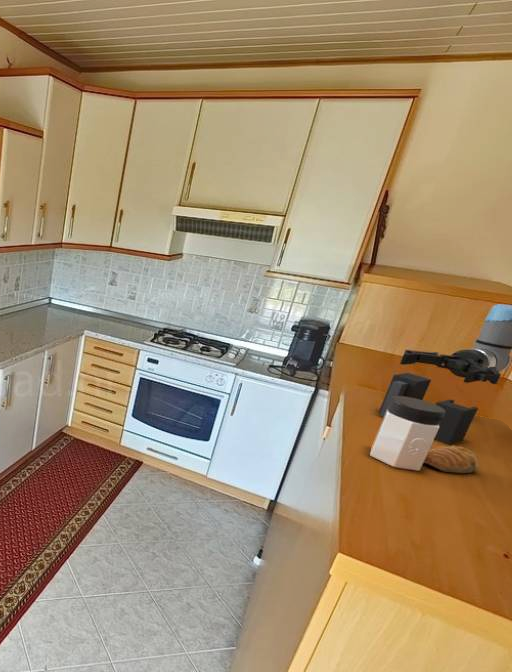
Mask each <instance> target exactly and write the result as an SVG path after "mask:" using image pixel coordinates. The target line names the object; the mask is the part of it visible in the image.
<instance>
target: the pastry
mask: <svg viewBox="0 0 512 672" xmlns="http://www.w3.org/2000/svg"><path fill="white" fill-rule="evenodd" d="M423 464H427V465H429V466H431V467H434V468H436V469H438V470H440V471H441V472H445V473H454V474H466V473H468V474H471V473H472V472H474V471H476V470H478V469H479V464H478V460H477V458H476V454H475V453H474V452H472V451H471V450H470V449H468V448H466V447H463V446H456V445H451V446H442V445H441V446H436V447H434V448H430V449H429V451H428V454H427V456H426V458H425V460H424V462H423Z"/></svg>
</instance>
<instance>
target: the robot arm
mask: <svg viewBox="0 0 512 672" xmlns="http://www.w3.org/2000/svg"><path fill="white" fill-rule="evenodd" d="M511 351H512V304H504V303H497V304H494V305H493V306H492V307H491V308H490V310H489V311H488V313H487V316H486V317H485V318H484V321H483V324H482V326H481V329H480V331H479V333H478V336H477V338H476V340H475V342H474V344H473V346H472V348H468V349H461V350H457V351H455V352H454V353H452V354H450V355H449V354H444V353H442V354H440V353H439V352H438V351H423V350H412V349H405V350H404V353H403V355H402V358H401V360H400V363H399V365H403V366H405V365H412V364H413V365H414V364H416V363H417V364H418V363H419V364H424V365H425V364H426V365H433V366H435V367H437V368H440V369H446V370H449V371H450V372H451V374H453V375H455V376H457V377H459V378H464V379H463V383H466V384H469V383H474V382H475V383H476V382H482V383H484V382H485V383H487V381H488V382H489V383H490V384H492V385H497V384H498V383H499V381H500V379H501V376H502V374H501V372H503V371H504V370H506V369H507V368H508V367H509V366H510V364H511V362H512V357H511Z"/></svg>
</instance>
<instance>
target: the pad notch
mask: <svg viewBox="0 0 512 672" xmlns="http://www.w3.org/2000/svg"><path fill="white" fill-rule="evenodd" d="M435 405H437V406H440V407H441V408H443V409H444V410H445V414H444V418H443V420H442V421H441V423H440V424H439V429H438V432H437V434H436V436H435V438H434V440H436V441H439V442H442V443H444V444H446V445H453V444H455V443H459V442H462V441H464V439H465V437H466V435H467V432H468V431H469V429H470V426H471V425H472V422H473V420H474V418H475V416H476V413H477V411H478V410H479V407H478V406H472V407H467V406H464V405H460V404H457V403H455V399H451V398H450V399H445V400H441V401H436V403H435Z"/></svg>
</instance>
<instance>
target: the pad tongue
mask: <svg viewBox="0 0 512 672" xmlns="http://www.w3.org/2000/svg"><path fill="white" fill-rule="evenodd" d="M431 382H432V379H430V378H427V377H424V376H420V375H416V374H414V373H411V372H405V373H404V372H403V373H397V374H393V376H392V378H391V381H390V384H389V386H388V388H387V391H386V393H385V396H384V398H383V400H382V403H381V405H380V408H379V410H378V413H379V415H378V416H379V417H381V418H384V415H385V413H386V411H387V408H388V406H389V403H390V401H391V398H392V397H394V396H404V397H410V398H415V399H419V400H423V401H424V398H425V395H426V393H427V391H428V388H429V387H430V384H431Z"/></svg>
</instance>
